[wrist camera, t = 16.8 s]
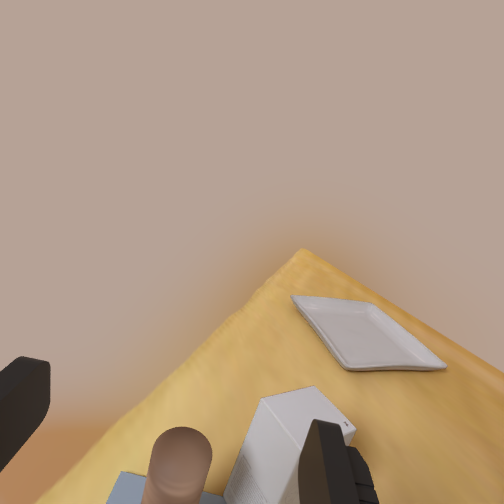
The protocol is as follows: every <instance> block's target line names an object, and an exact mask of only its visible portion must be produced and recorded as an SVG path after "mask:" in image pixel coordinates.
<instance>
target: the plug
mask: <svg viewBox="0 0 504 504" xmlns="http://www.w3.org/2000/svg"><path fill="white" fill-rule="evenodd" d="M211 461H212V448H211V445H210V443H209V441H208V439H207V438H206V437H205V436H204V435H203V434H202V433H200V432H199V431H197V430H195V429H192V428H189V427H175V428H172V429H169V430H167V431H165V432H164V433H162V434H161V435H160V436H159V437H158V439H157V440H156V442H155V444H154V446H153V450H152V454H151V459H150V464H149V468H148V473H147V477H146V482H145V487H144V491H143V496H142V501H141V504H199V502H200V498H201V495H202V491H203V488H204V485H205V481H206V478H207V474H208V471H209V468H210V464H211Z"/></svg>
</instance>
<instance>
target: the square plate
mask: <svg viewBox="0 0 504 504" xmlns="http://www.w3.org/2000/svg"><path fill="white" fill-rule="evenodd" d="M290 297H291V299H292V301H293V303H294V305H295V306H296V308H297V309H298V310H299V312H300V313H301V314H302V315H303V317H304V318H305V319H306V320H307V322H308V323H309V324H310V325H311V327H312V328H313V329H314V331H315V332H316V333H317V334H318V336H319V337H320V339H321V340H322V341H323V343H324V344H325V346H326V347H327V348H328V350H329V351H330V353H331V354H332V355H333V356H334V358H335V359H336V360H337V361H338V363H339V364H340V365H341V366H342V367H343V368H344V369H346V370H352V371H368V370H439V369H445V368H447V367H448V366H447V365H446V364H445V363H444V362H443V361H442V360H441V359H439V358H438V357H437V356H436V355H435V354H434V353H432V352H431V351H430V350H429V349H428V348H427V347H426V346H424V345H423V344H422V343H421V342H420V341H419V340H417V339H416V338H415V337H414V336H413V335H411V334H410V333H409V332H408V331H407V330H405V329H404V328H403V327H402V326H401V325H399V324H398V323H397V322H396V321H394V320H393V319H392V318H390V317H389V316H388V315H387V314H385V313H384V312H383V311H381V310H380V309H379V308H378V307H376V306H375V305H374V304H372V303H369V302H362V301H354V300H346V299H337V298H326V297H314V296H299V295H291V296H290Z"/></svg>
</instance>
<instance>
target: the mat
mask: <svg viewBox="0 0 504 504" xmlns="http://www.w3.org/2000/svg"><path fill="white" fill-rule="evenodd" d="M145 482H146V477H143V476H139V475H135V474H131V473H127V472H123V471H121V473H120V475H119V477H118V479H117V481H116V483H115V485H114V487H113V490H112V492H111V494H110V496H109V498H108V500H107V502H106V504H141V501H142V496H143V491H144V487H145ZM199 504H227V503H226V501H225V499H224V497H223V496H219V495H215V494H211V493H207V492H203V491H202V495H201V498H200V502H199Z"/></svg>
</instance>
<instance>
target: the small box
mask: <svg viewBox="0 0 504 504" xmlns="http://www.w3.org/2000/svg"><path fill="white" fill-rule="evenodd" d="M313 419H318V420H322V421H327V422H332V423H337V424H339V425H340V427H341V429H342V433H343V437H344V441H345V445H346V446H349V444H350V442H351V440H352V438H353V436H354V434H355V432H356V430H357V429H356V428H355V427H354V425H353V424H352V423H351V422H350V421H349V420H348V419H347V418H346V417H345V416H344V415H343V414H342V413H341V412H340V411H339V410H338V409H337V408H336V407H335V406H334V405H333V404H332V403H331V402H330V401H329V400H328V399H327V398H326V397H325V396H324V395H323V394H322V393H321V392H320V391H319V390H318V389H317V388H316V387H315V386H310V387H306V388H302V389H298V390H294V391H289V392H285V393H281V394H277V395H272V396H268V397H264V398H261V400H260V402H259V405H258V407H257V410H256V412H255V415H254V417H253V420H252V422H251V425H250V427H249V430H248V432H247V435H246V437H245V440H244V442H243V445H242V447H241V450H240V452H239V455H238V457H237V460H236V463H235V465H234V468H233V470H232V472H231V475H230V478H229V480H228V483H227V485H226V488H225V490H224V493H223V497H224V499H225V501H226V503H227V504H300V501H299V488H298V464H299V458H300V454H301V451H302V449H303V446H304V443H305V440H306V437H307V434H308V431H309V428H310V425H311V423H312V421H313Z"/></svg>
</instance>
